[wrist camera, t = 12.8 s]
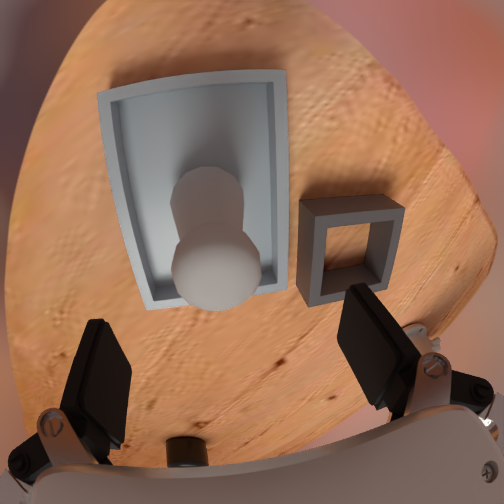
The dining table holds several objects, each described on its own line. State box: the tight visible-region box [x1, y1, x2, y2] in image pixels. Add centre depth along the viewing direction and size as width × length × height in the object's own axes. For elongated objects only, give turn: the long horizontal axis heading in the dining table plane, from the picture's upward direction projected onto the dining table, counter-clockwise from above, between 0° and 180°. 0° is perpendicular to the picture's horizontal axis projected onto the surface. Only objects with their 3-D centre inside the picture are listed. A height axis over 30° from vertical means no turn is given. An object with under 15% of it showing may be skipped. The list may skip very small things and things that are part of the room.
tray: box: [97, 69, 289, 310], centre depth 23 cm, size 14×20×3 cm
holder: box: [296, 194, 405, 307], centre depth 28 cm, size 10×10×4 cm
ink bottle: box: [166, 437, 209, 468], centre depth 44 cm, size 10×9×12 cm
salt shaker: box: [170, 166, 262, 311], centre depth 18 cm, size 6×6×13 cm
